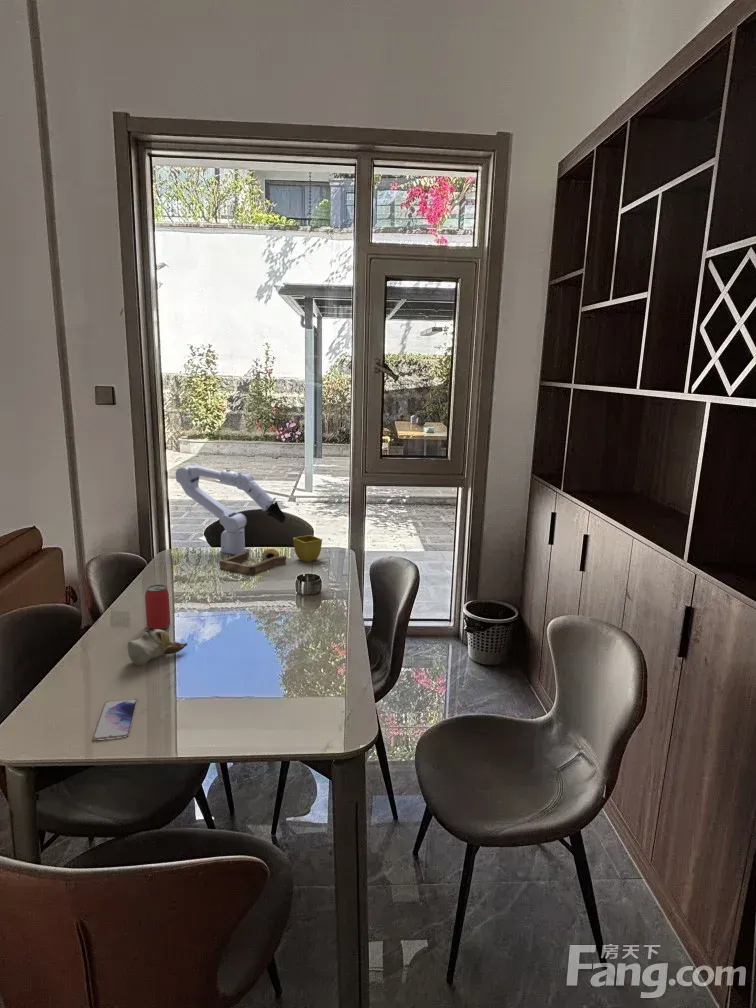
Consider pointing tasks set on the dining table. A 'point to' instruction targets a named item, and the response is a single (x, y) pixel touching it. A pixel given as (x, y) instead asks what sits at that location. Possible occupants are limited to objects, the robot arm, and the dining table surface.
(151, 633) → the ceramic sculpture
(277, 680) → the dining table surface
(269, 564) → the holder
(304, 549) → the flower pot
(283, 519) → the robot arm
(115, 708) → the smartphone
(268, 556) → the pastry
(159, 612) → the beer can
